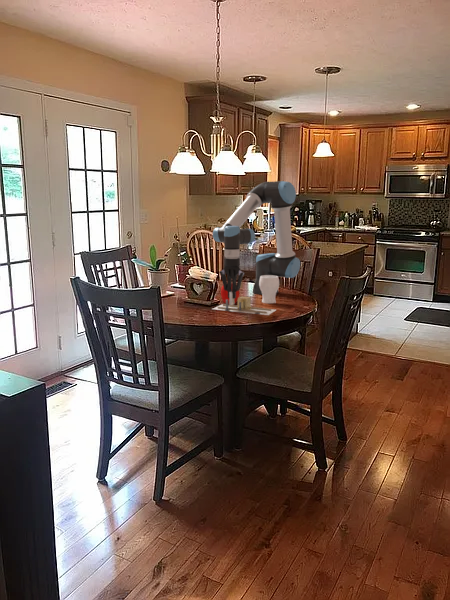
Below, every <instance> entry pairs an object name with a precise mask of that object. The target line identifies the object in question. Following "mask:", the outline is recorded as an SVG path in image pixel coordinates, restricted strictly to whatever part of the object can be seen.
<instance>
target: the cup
mask: <svg viewBox="0 0 450 600" xmlns="http://www.w3.org/2000/svg"><path fill="white" fill-rule="evenodd" d="M259 287H260V290H261V292H262V294H261V295H262V296H261V297H262V299H261V303H263V304H276V303H277V301H276V296H277V294H276V292H277V290H278V291H279V287H280V279H279V277H278V276H274V275H264V276H260V280H259Z"/></svg>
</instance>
